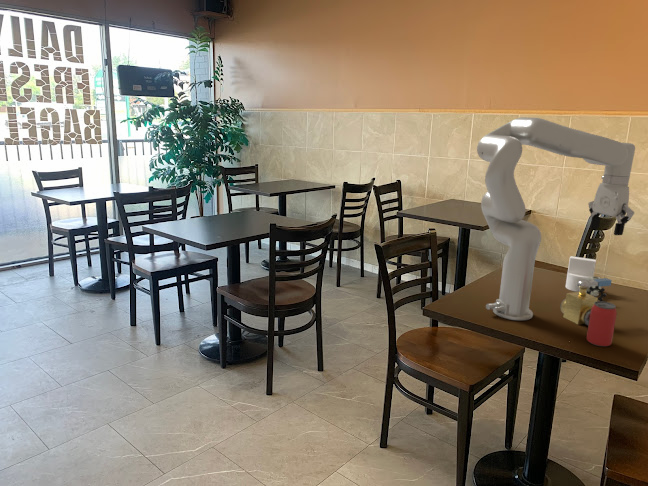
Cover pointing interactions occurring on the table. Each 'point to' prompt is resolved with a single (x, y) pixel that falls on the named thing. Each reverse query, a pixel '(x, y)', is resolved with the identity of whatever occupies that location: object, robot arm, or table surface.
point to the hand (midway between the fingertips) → (605, 231)
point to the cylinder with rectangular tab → (579, 272)
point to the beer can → (601, 323)
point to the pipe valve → (578, 306)
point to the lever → (594, 283)
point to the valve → (596, 290)
